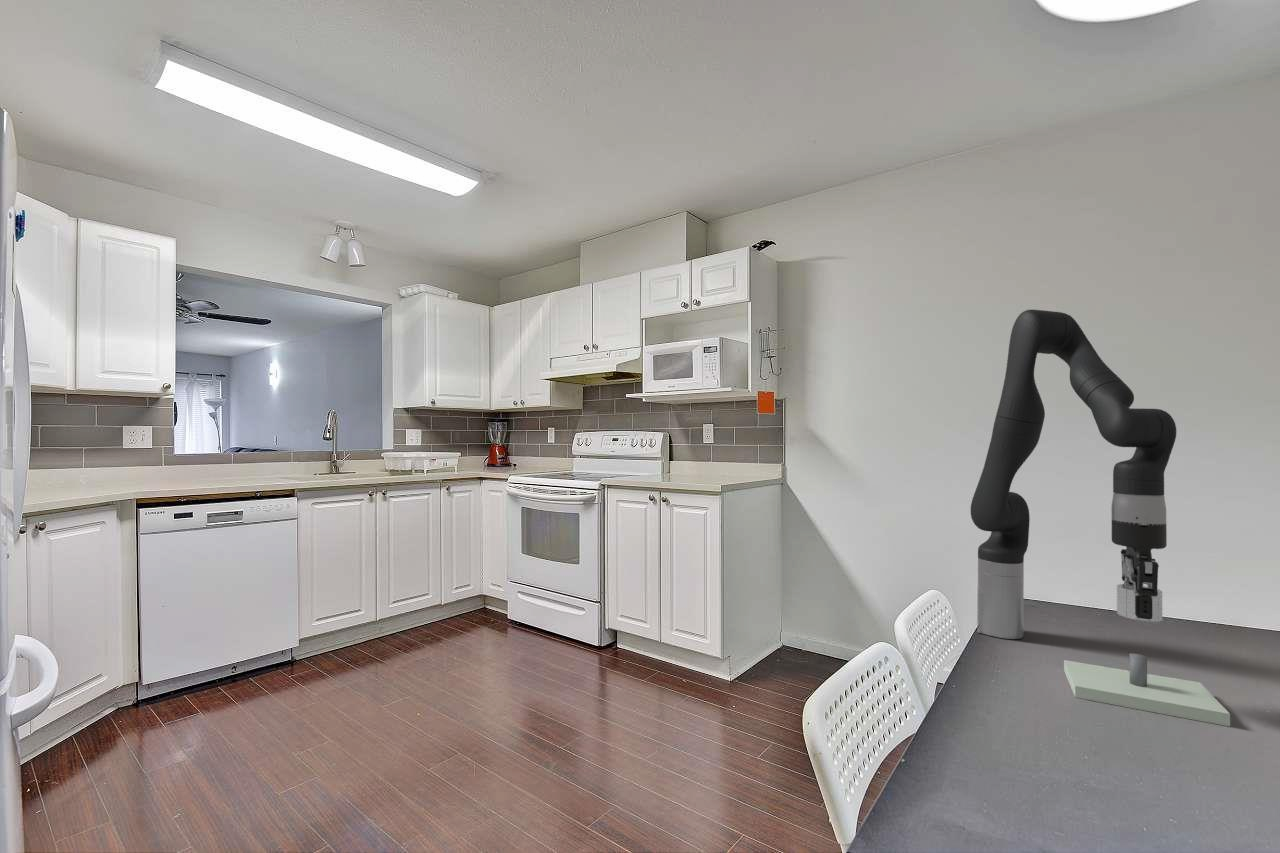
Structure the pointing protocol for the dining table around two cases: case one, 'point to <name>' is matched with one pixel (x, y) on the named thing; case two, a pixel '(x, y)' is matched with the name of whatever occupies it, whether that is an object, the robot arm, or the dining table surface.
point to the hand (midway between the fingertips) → (1138, 613)
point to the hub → (1128, 603)
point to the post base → (1145, 691)
